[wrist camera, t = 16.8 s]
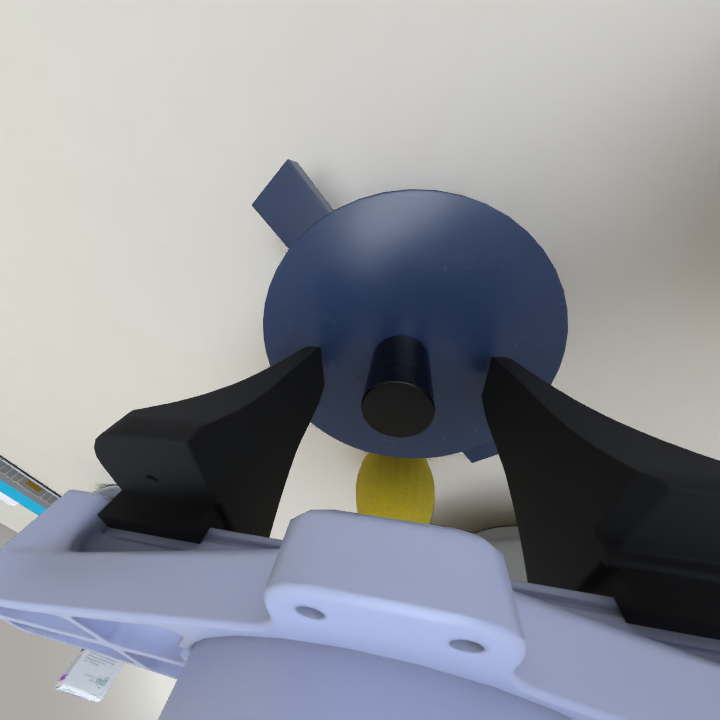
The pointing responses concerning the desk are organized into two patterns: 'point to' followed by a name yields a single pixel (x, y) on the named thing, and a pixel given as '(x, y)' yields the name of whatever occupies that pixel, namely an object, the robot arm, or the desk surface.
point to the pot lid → (414, 317)
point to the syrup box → (89, 675)
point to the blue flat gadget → (23, 489)
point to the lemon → (395, 488)
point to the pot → (300, 212)
